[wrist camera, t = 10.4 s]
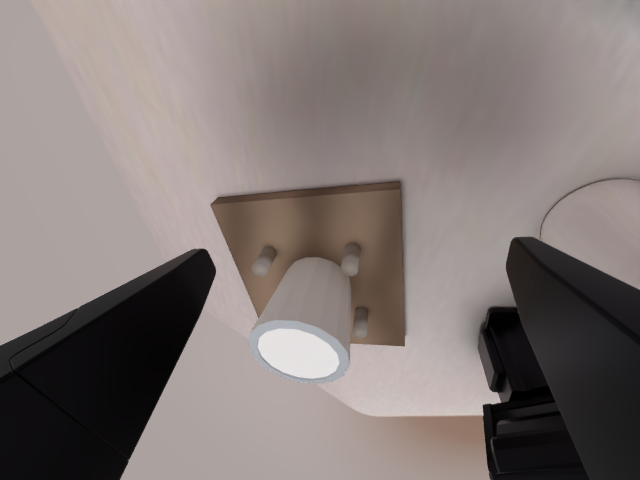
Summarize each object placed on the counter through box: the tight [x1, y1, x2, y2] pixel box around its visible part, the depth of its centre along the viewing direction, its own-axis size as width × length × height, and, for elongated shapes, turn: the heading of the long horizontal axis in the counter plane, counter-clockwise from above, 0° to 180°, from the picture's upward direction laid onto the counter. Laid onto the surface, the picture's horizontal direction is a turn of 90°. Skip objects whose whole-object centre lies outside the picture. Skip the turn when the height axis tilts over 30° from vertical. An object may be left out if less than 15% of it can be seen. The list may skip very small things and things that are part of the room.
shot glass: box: [248, 257, 351, 384], centre depth 22 cm, size 7×7×7 cm
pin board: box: [210, 182, 405, 346], centre depth 24 cm, size 14×16×4 cm
